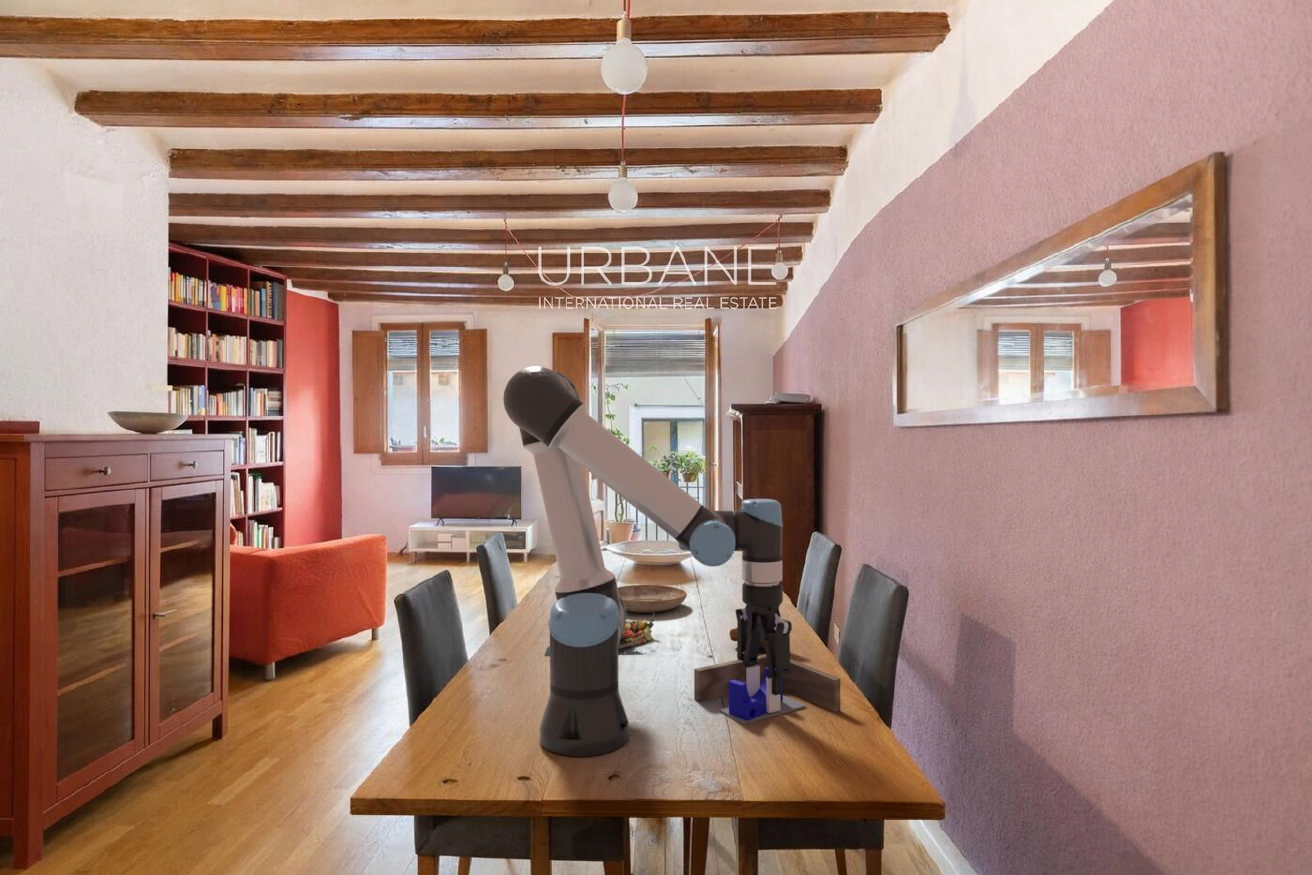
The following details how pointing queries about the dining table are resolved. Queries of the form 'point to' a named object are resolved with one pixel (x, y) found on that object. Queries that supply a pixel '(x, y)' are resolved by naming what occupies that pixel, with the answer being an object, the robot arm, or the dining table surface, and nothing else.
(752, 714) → the blue curved block
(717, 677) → the corner walls
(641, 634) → the plated dish
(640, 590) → the ceramic bowl
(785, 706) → the grey mat
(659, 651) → the dining table surface
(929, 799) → the dining table surface
